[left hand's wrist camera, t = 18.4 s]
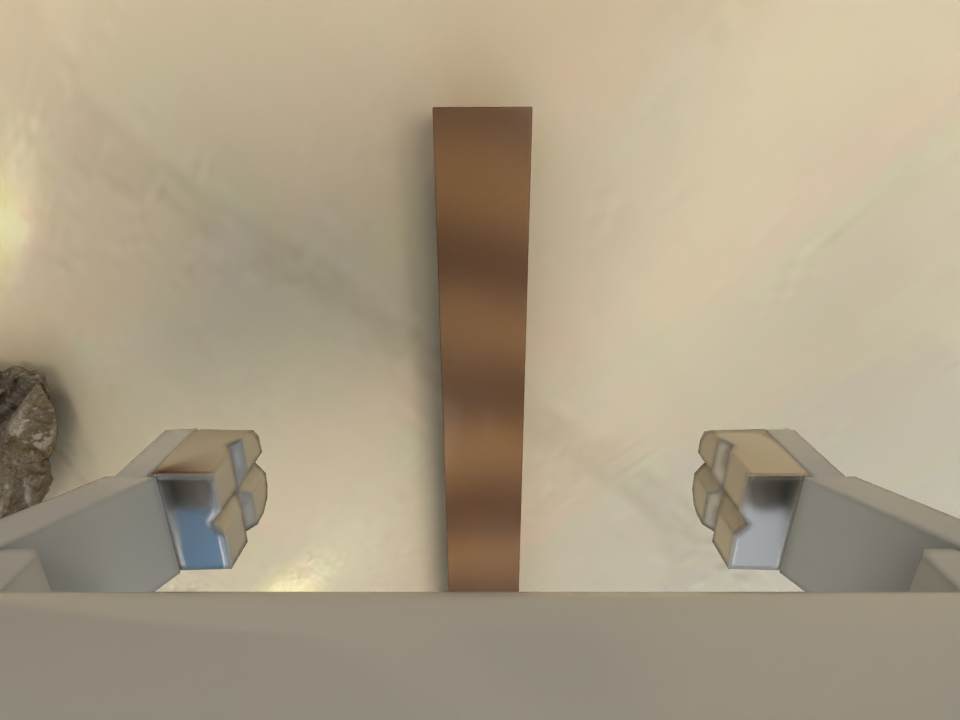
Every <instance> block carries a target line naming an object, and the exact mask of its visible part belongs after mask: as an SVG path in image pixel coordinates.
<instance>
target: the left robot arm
mask: <svg viewBox="0 0 960 720" xmlns="http://www.w3.org/2000/svg"><path fill="white" fill-rule="evenodd" d="M261 453H262V450H261V446H260V441H259V436H258V435H257V434H256V433H255V432H254V430H211V429H200V430H198V429H172V430H165V431H164V432H163V433H162V434H161V435H160V436H159V437H158V438H157V439H155V440H154V441H153V442H152V443H151V444H150V445H149V446H148V447H147V448H146V449H144V450H143V451H142V452H141V453H140V454H139V455H138V456H137V457H136V458H135V459H133V460H132V461H131V462H130V463H129V464H128V465H127V466H126V467H125V468H124V469H122V470H121V471H120V472H119V473H118V474H117V475H116V476H115V477H103V478H101V479H99V480H96V481H94V482H91V483H89V484H86V485H84V486H81V487H79V488H76V489H74V490H71V491H69V492H66V493H64V494H61V495H59V496H56V497H54V498H51V499H49V500H46V501H44V502H41V503H39V504H37V505H34V506H32V507H29V508H27V509H24V510H22V511H19V512H17V513H14V514H12V515H9V516H7V517H4V518H2V519H0V720H960V519H958V518H955V517H953V516H951V515H948V514H946V513H943V512H941V511H938V510H936V509H933V508H931V507H928V506H926V505H923V504H921V503H918V502H916V501H913V500H911V499H908V498H906V497H904V496H901V495H899V494H896V493H894V492H891V491H889V490H886V489H884V488H881V487H879V486H876V485H874V484H871V483H869V482H866V481H864V480H861V479H859V478H857V477H845V476H844V475H843V474H842V473H841V472H840V471H839V470H838V469H837V468H835V467H834V466H833V465H832V464H831V463H830V462H829V461H828V460H827V459H826V458H824V457H823V456H822V455H821V454H820V453H819V452H818V451H817V450H816V449H815V448H813V447H812V446H811V445H810V444H809V443H808V442H807V441H806V440H805V439H804V438H802V437H801V436H800V435H799V434H798V433H797V432H796V431H794V430H791V429H766V430H765V429H752V430H711V431H705V432H704V433H703V435H702V438H701V440H700V445H699V450H698V453H699V454H700V456H701V457H702V459H703V460H704V462H705V463H704V464H703V465H702V466H701V467H700V468H699V469H698V470H697V471H696V472H695V473H694V481H693V488H692V490H693V501H694V506H695V509H696V513H697V515H698V517H699V519H700V521H701V523H702V524H703V525H705V526H706V527H708V528H709V529H711V530H713V531H714V535H713V541H712V542H713V543H714V545H715V547H716V548H717V550H718V552H719V553H720V555H721V557H722V559H723V560H724V562H725V564H726V565H727V567H728V569H757V570H780V573H781V574H783V575H784V576H785V577H787V578H788V579H789V580H791V581H792V582H793V583H795V584H796V585H797V586H799V587H800V588H801V589H803V590H804V591H805V592H155V591H156V590H157V589H159V588H160V587H162V586H163V585H164V584H166V583H167V582H168V581H170V580H171V579H172V578H174V577H175V576H176V575H178V574H179V573H180V570H202V569H232V567H233V565H234V564H235V562H236V560H237V559H238V557H239V555H240V554H241V552H242V550H243V548H244V547H245V545H246V543H247V542H248V541H247V535H246V531H247V530H249V529H251V528H252V527H254V526H255V525H257V524H258V523H259V521H260V519H261V517H262V515H263V513H264V509H265V505H266V501H267V480H266V473H265V472H264V471H263V470H262V469H261V468H260V467H259V466H258V465H257V464H256V463H255V462H256V460H257V459H258V457H259V456H260V454H261Z"/></svg>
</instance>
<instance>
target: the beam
mask: <svg viewBox="0 0 960 720" xmlns="http://www.w3.org/2000/svg"><path fill="white" fill-rule="evenodd" d="M433 132H434V162H435V192H436V221H437V251H438V281H439V311H440V340H441V370H442V400H443V430H444V459H445V489H446V519H447V549H448V578H449V592H519V560H520V525H521V489H522V454H523V419H524V384H525V348H526V313H527V278H528V243H529V208H530V172H531V137H532V107H433Z"/></svg>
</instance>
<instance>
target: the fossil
mask: <svg viewBox="0 0 960 720" xmlns="http://www.w3.org/2000/svg"><path fill="white" fill-rule="evenodd" d="M57 435H58V429H57V419H56V412H55V409H54V407H53V404H52V402H51V396H50V392H49V389H48V386H47V382H46V377H45V374H43V373H40V372H38V371H37V370H35V371H32V372H29V371H28V370H26V369H24V368H22V367H16V366H15V367H10V368H9V369H7V370H5V371H0V519H2V518H4V517H7V516H9V515H12V514H14V513H17V512H19V511H22V510H24V509H27V508H29V507H32V506H34V505H37V504H39V503H41V501H42V500H43V498H44V496H45V495H46V494H47V492H48V491H49V486H50V485H51V483H52V481H53V478H52V476H51V469H50V463H49V459H48V458H49V457H50V455H51V454H52V452H53V451H54V449H55V443H56V439H57Z"/></svg>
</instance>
